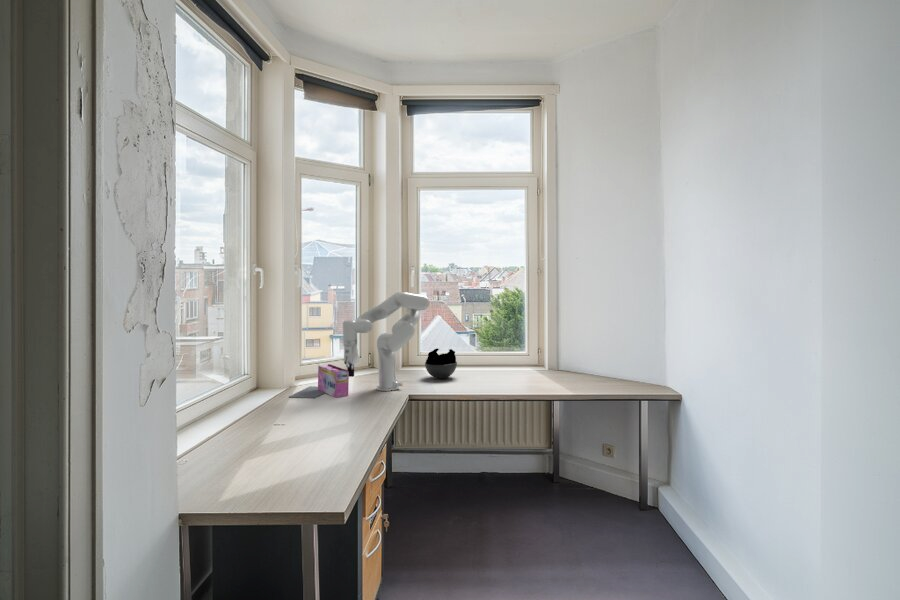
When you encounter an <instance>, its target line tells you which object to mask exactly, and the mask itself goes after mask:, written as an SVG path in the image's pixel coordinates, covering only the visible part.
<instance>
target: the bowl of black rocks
mask: <svg viewBox="0 0 900 600" xmlns="http://www.w3.org/2000/svg"><path fill="white" fill-rule="evenodd" d="M439 350H440V348H434V349H433V350H431V351H429V352H428V353H427V358H426V360H425V362H424V367H425V369H426V372H427V373H428V374H429V376H431V377H433V378H434V379H435V378H436V379H440V380H442V379H447V378H449V377H450V376H452V375H453V374H454V373H455V372H456V369H457V366H458V361H457V356H456V354H455V353H456V351H455V350H453V349H452V348H450V349H448V352H446V353H440V354H438V353H437V352H438V351H439Z"/></svg>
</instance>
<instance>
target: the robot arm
mask: <svg viewBox="0 0 900 600" xmlns="http://www.w3.org/2000/svg"><path fill="white" fill-rule="evenodd" d="M430 304H431V303H430V299H429V298H428V297H427V296H426V295H423V294H422V295H421V294H415V293H410V292H406V291H405V292H403V291H398V292H395V293H393V294H392V295H390V296H389V297H388V298H386V299H385V300H383V301H382V302H381V303H380V304H378V305H377V306H375V307H372V308H371V309H369V310H367V311H365V312H363V313H362V314H361V315H359V316H358V317H357V318H355V320H354V319H346V320H344V321H343V322H342V339H343V340H342V342H343V343H342V344H343V348H344V349H343V363H344V364H345V367H346V370H348V371H349V378H350V377H354V376H355V364H357V363H358V362H359V351H358V350H359V349H358V334H368V333H369V332H371V331H372V329H373V323H375V322H377V321H380V320H384V319H387V318H389V317H390V316H392V314H394V313H395V312H397V311H399V310H400V309H401V308H406V309H407V312H406V313H405V314H404V315H403V316H402V317H401V318H399V320H397V322H395V323H394V324H393V325H392V326H391V332H392V333H387V332H386V333H381V334H380V335H378V337H377V340H376V349H377V354H378V385H376V390H377V391H380V392H381V391H383V392H391V390H392V391H395V390H398V389H399V387H403V386H404V383H403V382H399V381H398V379H396V377H397V375H396V369H397V368H396V352H398V351H400V349H402V348H403V347H404V346H405V345H406V344H407V343H409V341H410V340H411V339H412V338H413V336H414V334H415V332H416V331H415V330H416V329H415V326H416V325H417V324H418V323H419V321H420V319H421V314H422V313H421V312H422V311H426V310H427V309H428V308H430Z"/></svg>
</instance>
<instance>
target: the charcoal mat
mask: <svg viewBox="0 0 900 600" xmlns="http://www.w3.org/2000/svg"><path fill="white" fill-rule="evenodd" d="M324 394H326V393H325V392H323V391H321V390H319V389H318V386H313V385H312V386H308V387H306V388H303V389H302V390H299V391H297V392H295V393H293V394H291V395H289V396H288V398H289V399H290V398H291V399H317V398H318V397H321V396H322V395H324ZM320 395H321V396H320Z"/></svg>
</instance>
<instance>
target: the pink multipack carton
mask: <svg viewBox="0 0 900 600" xmlns="http://www.w3.org/2000/svg"><path fill="white" fill-rule="evenodd" d="M317 366H318V368H317V369H318V370H317V387H318V389H319V390H321V391H323V392H325V393H324V394H328V395H330V396H331V397H334V398H340V397H346V396H347V395H348V396H349V379H350V377H349V371H348V369H345V368H342V367H338V366H336V365H333V364H330V363H329V364H327V365H320V364H319V365H317ZM348 396H347V397H348Z"/></svg>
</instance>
